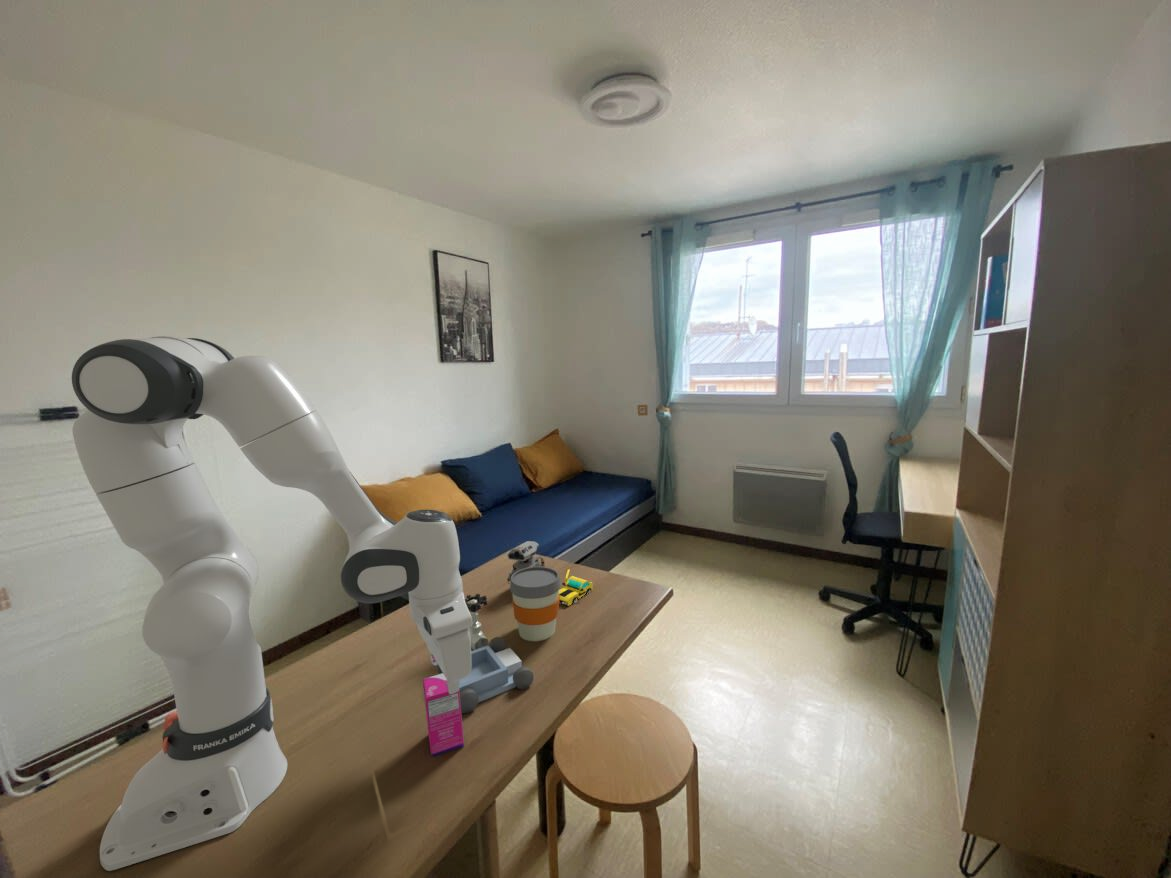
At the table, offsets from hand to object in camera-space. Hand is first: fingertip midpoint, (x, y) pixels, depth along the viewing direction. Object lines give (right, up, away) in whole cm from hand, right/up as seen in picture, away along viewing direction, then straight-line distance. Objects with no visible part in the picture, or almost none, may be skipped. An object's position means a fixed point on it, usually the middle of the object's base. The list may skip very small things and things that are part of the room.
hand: (444, 675), depth 82 cm
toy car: (+21, -5, +54) cm, 58 cm away
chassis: (+3, -10, +18) cm, 21 cm away
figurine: (+7, -5, +58) cm, 59 cm away
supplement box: (0, -13, +2) cm, 13 cm away
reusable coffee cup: (+13, -8, +36) cm, 39 cm away
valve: (-2, -9, +30) cm, 32 cm away
